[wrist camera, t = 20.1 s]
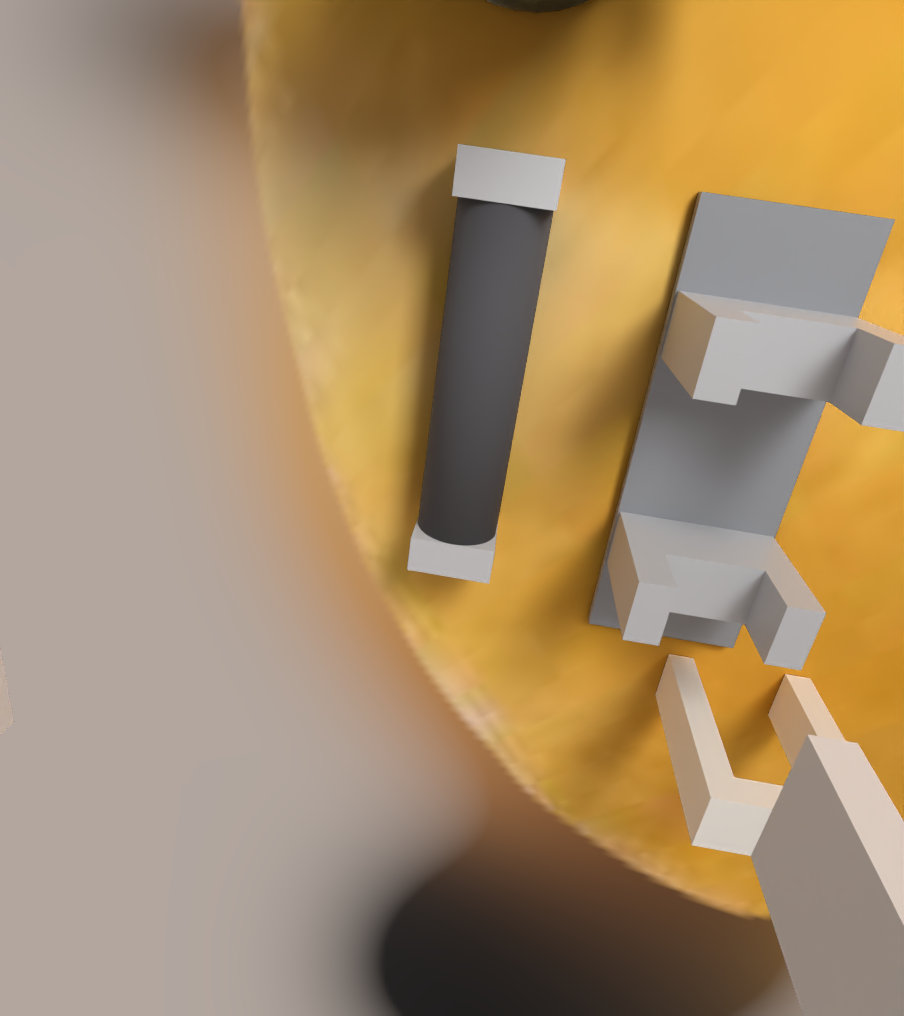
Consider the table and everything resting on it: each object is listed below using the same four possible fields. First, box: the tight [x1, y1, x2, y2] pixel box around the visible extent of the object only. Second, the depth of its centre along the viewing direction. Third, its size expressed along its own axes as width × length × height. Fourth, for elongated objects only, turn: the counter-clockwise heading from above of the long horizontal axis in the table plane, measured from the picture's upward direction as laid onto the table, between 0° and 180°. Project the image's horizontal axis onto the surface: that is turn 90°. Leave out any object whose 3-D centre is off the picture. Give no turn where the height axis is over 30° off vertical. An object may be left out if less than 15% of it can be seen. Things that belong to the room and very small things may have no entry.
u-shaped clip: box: [655, 654, 845, 856], centre depth 35 cm, size 3×8×10 cm, turn 82°
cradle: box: [588, 192, 904, 670], centre depth 30 cm, size 22×8×8 cm, turn 172°
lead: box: [407, 144, 566, 584], centre depth 32 cm, size 19×4×4 cm, turn 172°
